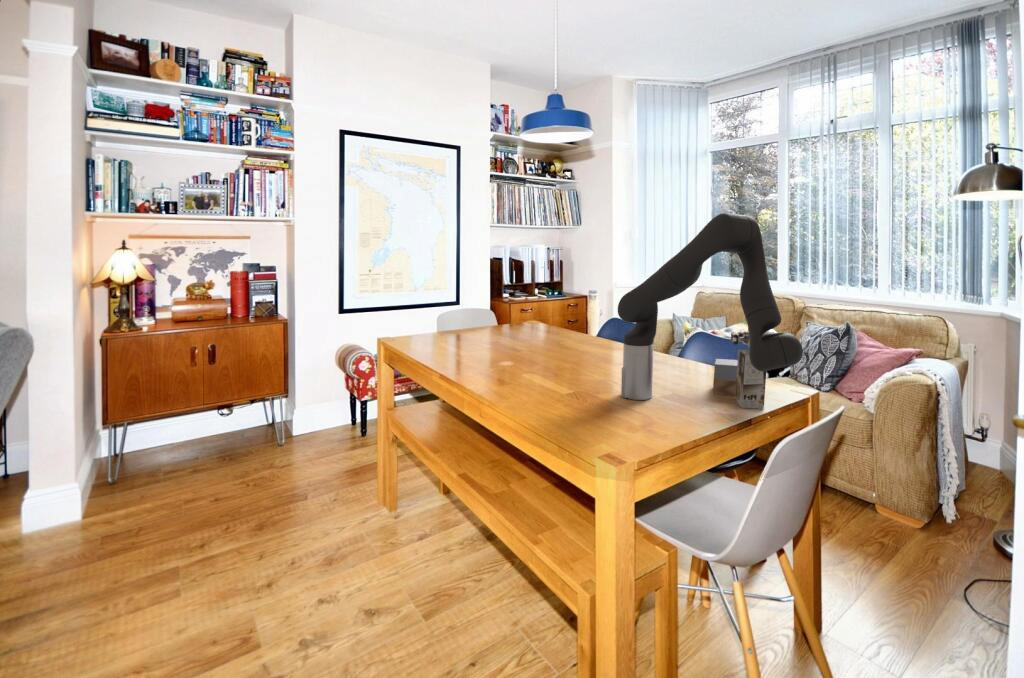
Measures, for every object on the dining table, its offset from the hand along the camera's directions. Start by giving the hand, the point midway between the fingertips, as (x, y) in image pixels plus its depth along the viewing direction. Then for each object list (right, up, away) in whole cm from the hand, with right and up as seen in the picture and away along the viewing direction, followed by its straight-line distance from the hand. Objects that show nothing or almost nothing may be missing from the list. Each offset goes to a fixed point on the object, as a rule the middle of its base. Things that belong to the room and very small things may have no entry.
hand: (757, 335), depth 148 cm
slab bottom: (+3, -18, +27) cm, 32 cm away
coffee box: (+4, -21, +13) cm, 25 cm away
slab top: (+3, -14, +26) cm, 29 cm away
